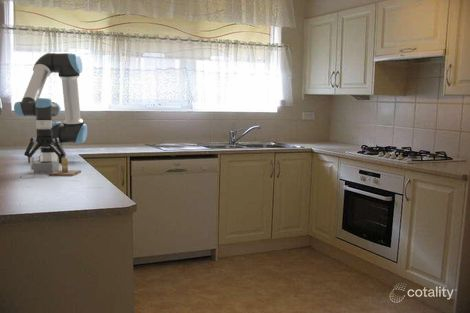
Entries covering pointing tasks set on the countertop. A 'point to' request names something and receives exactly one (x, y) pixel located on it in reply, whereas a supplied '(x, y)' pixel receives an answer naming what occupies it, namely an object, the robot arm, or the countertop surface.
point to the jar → (48, 154)
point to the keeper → (64, 170)
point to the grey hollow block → (45, 166)
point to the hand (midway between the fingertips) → (45, 170)
